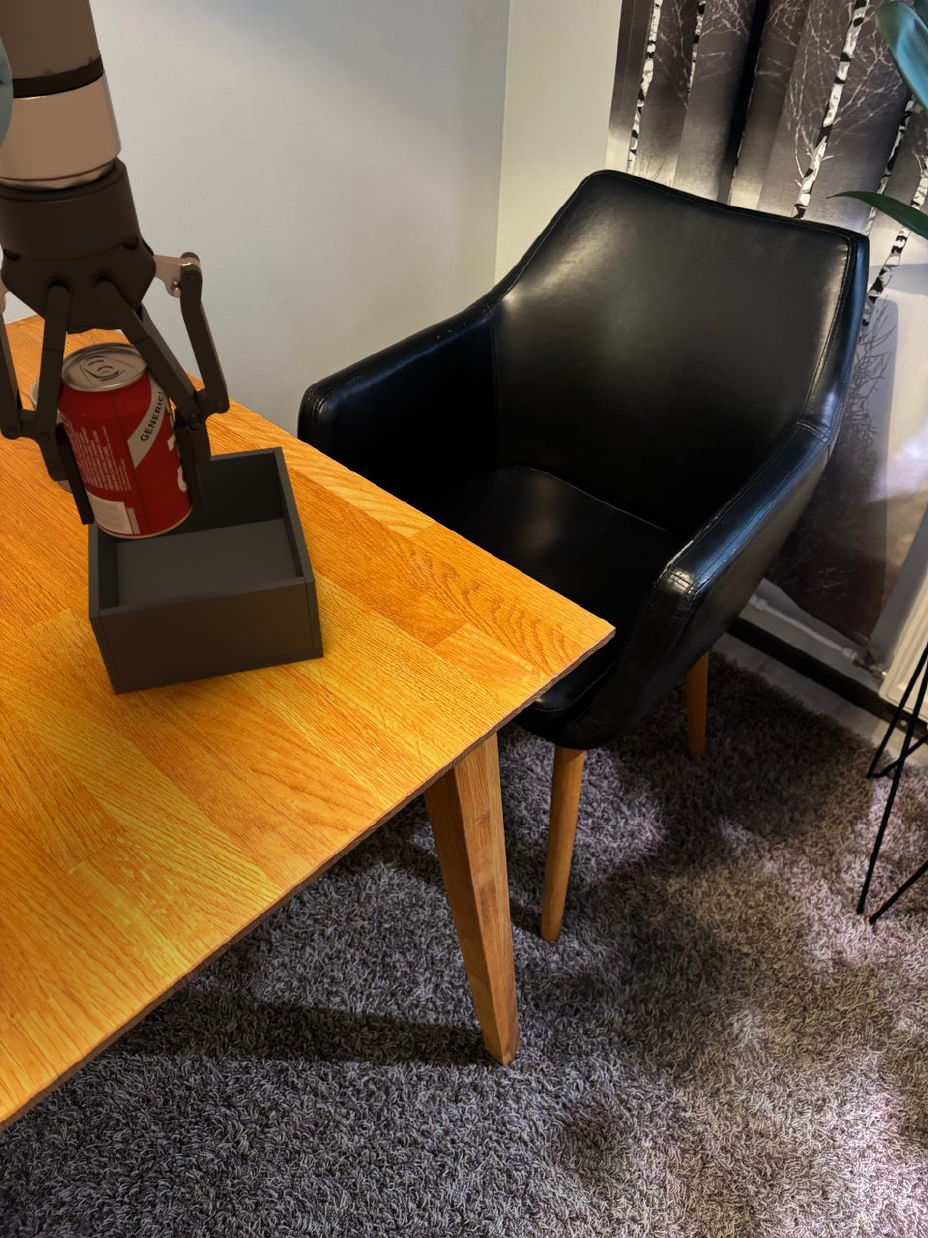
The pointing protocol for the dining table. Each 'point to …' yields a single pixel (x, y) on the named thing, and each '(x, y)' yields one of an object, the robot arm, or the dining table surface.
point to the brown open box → (208, 583)
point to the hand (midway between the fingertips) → (143, 504)
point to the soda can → (123, 441)
